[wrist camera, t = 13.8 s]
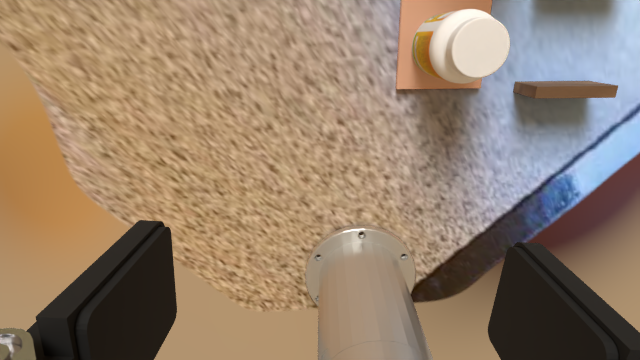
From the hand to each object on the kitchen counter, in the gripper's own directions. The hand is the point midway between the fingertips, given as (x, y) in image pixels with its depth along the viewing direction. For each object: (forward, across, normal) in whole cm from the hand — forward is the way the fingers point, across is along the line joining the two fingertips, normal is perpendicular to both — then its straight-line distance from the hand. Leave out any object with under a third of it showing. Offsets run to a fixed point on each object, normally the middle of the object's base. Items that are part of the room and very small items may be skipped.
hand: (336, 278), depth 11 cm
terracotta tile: (+29, -10, -7) cm, 31 cm away
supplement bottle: (+28, -10, -7) cm, 31 cm away
